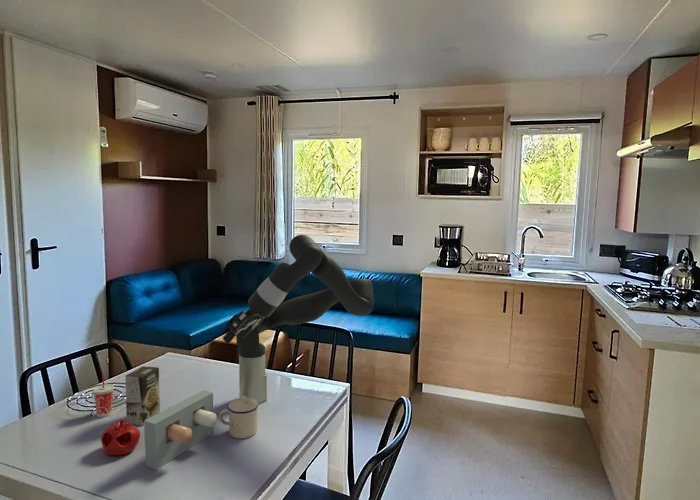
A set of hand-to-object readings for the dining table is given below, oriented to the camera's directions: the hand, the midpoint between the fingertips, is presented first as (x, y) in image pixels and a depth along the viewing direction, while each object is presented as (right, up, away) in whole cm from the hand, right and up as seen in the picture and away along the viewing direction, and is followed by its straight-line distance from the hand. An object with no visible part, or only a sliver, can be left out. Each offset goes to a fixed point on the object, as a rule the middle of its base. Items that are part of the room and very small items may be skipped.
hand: (233, 339), depth 127 cm
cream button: (-11, -27, +7) cm, 29 cm away
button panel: (-16, -33, +4) cm, 37 cm away
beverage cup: (-49, -30, +24) cm, 63 cm away
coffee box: (-35, -31, +22) cm, 51 cm away
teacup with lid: (-2, -32, +14) cm, 35 cm away
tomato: (-33, -33, +3) cm, 47 cm away
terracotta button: (-15, -28, -2) cm, 31 cm away
